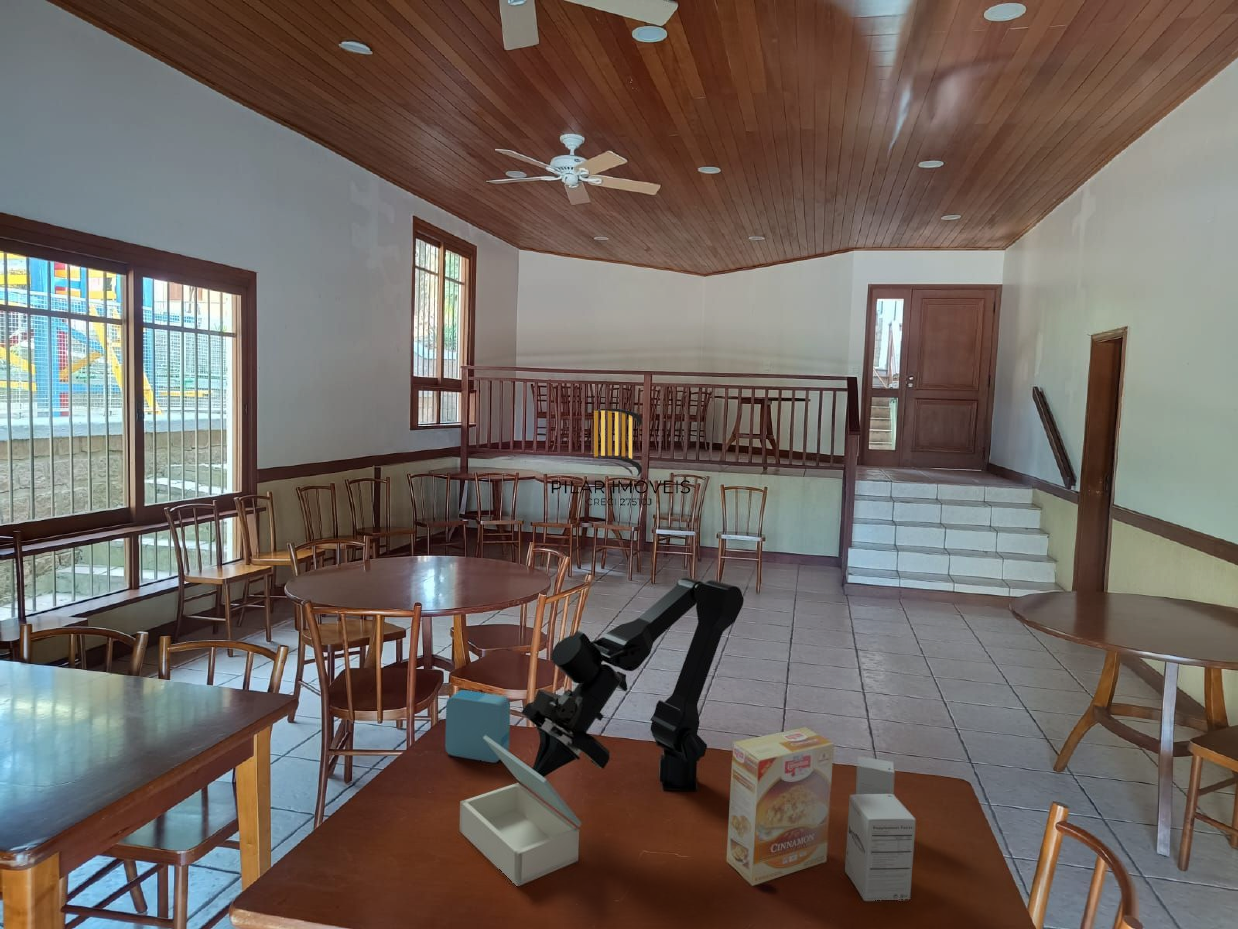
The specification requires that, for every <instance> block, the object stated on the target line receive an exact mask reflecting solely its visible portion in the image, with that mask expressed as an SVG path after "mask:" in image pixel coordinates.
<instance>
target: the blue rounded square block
mask: <svg viewBox="0 0 1238 929" xmlns="http://www.w3.org/2000/svg"><path fill="white" fill-rule="evenodd" d="M510 721H511V703H510V699H509V698H508V697H507V696H504V695H499V694H493V693H487V692H480V691H474V690H473V691H472V690H465V689H461V690H458V691H457V692H456V693H454V694H453V695H451V697H449V698H448V699H447V700H446V703H445V751H446V753H448V755H450V756H452V757H459V758H463V759H469V760H476V761H480V760H481V761H482V762H488V763H495V764H496V763H498V762H499V761H501V759H500V758H499V757H498V756H497V754H496V753H495V752H494V751H493V750H492V748H491V747H490V746H489V745H488V743H487V742H486V741H485V740H484V739H483V737H484V736H485V735H486V736H487V737H489V738H490V739H492V740H493V741H494V742H496V743H497V744H498V745H500V746H501V747H503V748H504V749H505V750H507V751H508V752H509V749H510V729H511V728H510V726H511V724H510V723H511V722H510Z"/></svg>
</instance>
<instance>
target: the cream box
mask: <svg viewBox="0 0 1238 929" xmlns="http://www.w3.org/2000/svg"><path fill="white" fill-rule="evenodd" d="M459 832H460V833H461V834H462V835H463V836H464V837H465V838H466V839H467V840H468V841H470V842H471V844H473V846H474V847H475V848H476V849H478V851H479V852H480V853H482V854H483V855H484V856H485V858H487V859H488V860H489V861H490V862H491V863H492V865H493V866H495V867H496V868H497V869H498V870H499V869H500V870H501V871H502V872H501V871H500V870H499V871H500V872H501V874H503V873H504V874H505V875H506V876H507V877H508V878H509V879H510V880H511V881H512V882H511V881H510V880H509V879H508V878H507V877H506V876H505V875H504V874H503V875H504V876H505V877H506V878H507V879H508V880H509V881H510V882H511V884H513V883H514V884H515V885H516V886H518V887H519V886H522V885H525V884H526V883H527V884H528V883H530V882H532V881H534V880H536V879H539V878H541V877H543V876H547V875H548V874H550V873H553V872H555V871H557V870H560V869H562V868H564V867H567V866H569V865H571V864H574V863H577V862H578V861H579V844H580V843H579V840H580V829H579V828H577V826H575V825H574V824H572V823H571V822H569V820H567V819H566V818H565V817H563V816H562V815H560V813H558V812H557V811H555V810H554V809H553V808H552V807H550V806H549V805H547V804H546V803H545V801H542V799H540V797H539V798H538V797H537V796H536V794H533V793H532V791H530V790H528V789H527V788H526V787H524V786H523V784H520V783H519V782H516V783H513V784H511V785H508V786H507V785H506V786H504V787H500V788H498V789H494V790H492V791H488V792H486V793H485V792H484V793H482V794H480V795H476V796H474V797H470V798H467V799H463V800H460V802H459ZM514 884H513V885H514ZM515 885H514V886H515ZM516 886H515V887H516Z"/></svg>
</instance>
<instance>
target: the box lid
mask: <svg viewBox="0 0 1238 929" xmlns="http://www.w3.org/2000/svg"><path fill="white" fill-rule="evenodd" d="M483 739H484V740H485V741H486V742H487V743H488V745H489V746H490V747H491V748H492V750H493V751H494V752H495V753H496V754H497V756H498V757H499V758H500V761H501V762H502V763H503V764H504V765H505V767H506V768H507V769H508V770H509V772H510V773H511V774H512V775H513V776H514V777H515V779H516V780H517V781H519V782H520V783H521V785H524V786H525V788H526V787H527V788H528V789H529V791H531V792H533V793H534V795H537V796H538V797H539V798H541V800H543V801H544V802H546V803H547V804H549V805H550V806H551V808H554V809H555V810H557V811H558V812H559V814H562V815H563V816H564V818H567V819H568V821H571V822H572V823H573V824H575V825H576V827H581V825H582V822H581V820H579V818H578V817H577V816H576V815H575V813H574V812H573V811H572V810H571V809H570V807H569V806H568V804H567V803H566V802H565V801H564V799H563V798H562V797H561V795H560V794H559V793H558V792H557V790H556V789H555V788H554V787H553V785H552V784H551V783H550V782H549V781H548V780H547V778H546V777H543V776H541V775H540V774H538V773H537V772H536V771H534V770H533V767H531V766H529V765H527V764H526V763H525V762H523V761H522V760H521V759H519V758H518V757H516V756H515V755H513V754H512V753H511V752H509V750H508V751H507V750H505V749H504V748H503V747H501V746H500V745H498V744H497V743H496V742H494V741H493V740H492V739H490V738H489V737H487V736H486V735H485V736H484V737H483Z"/></svg>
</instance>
